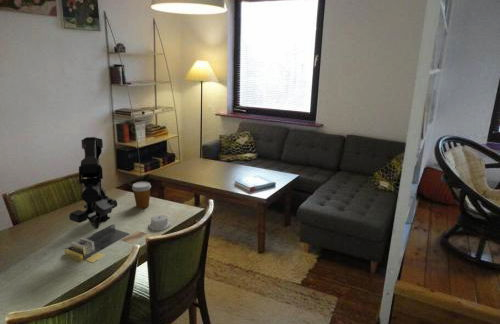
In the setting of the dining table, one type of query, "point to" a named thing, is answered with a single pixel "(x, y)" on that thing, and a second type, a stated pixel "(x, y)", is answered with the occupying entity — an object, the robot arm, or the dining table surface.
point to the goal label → (95, 257)
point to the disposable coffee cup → (141, 194)
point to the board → (133, 237)
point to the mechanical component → (159, 222)
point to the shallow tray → (98, 241)
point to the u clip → (83, 247)
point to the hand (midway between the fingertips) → (96, 228)
